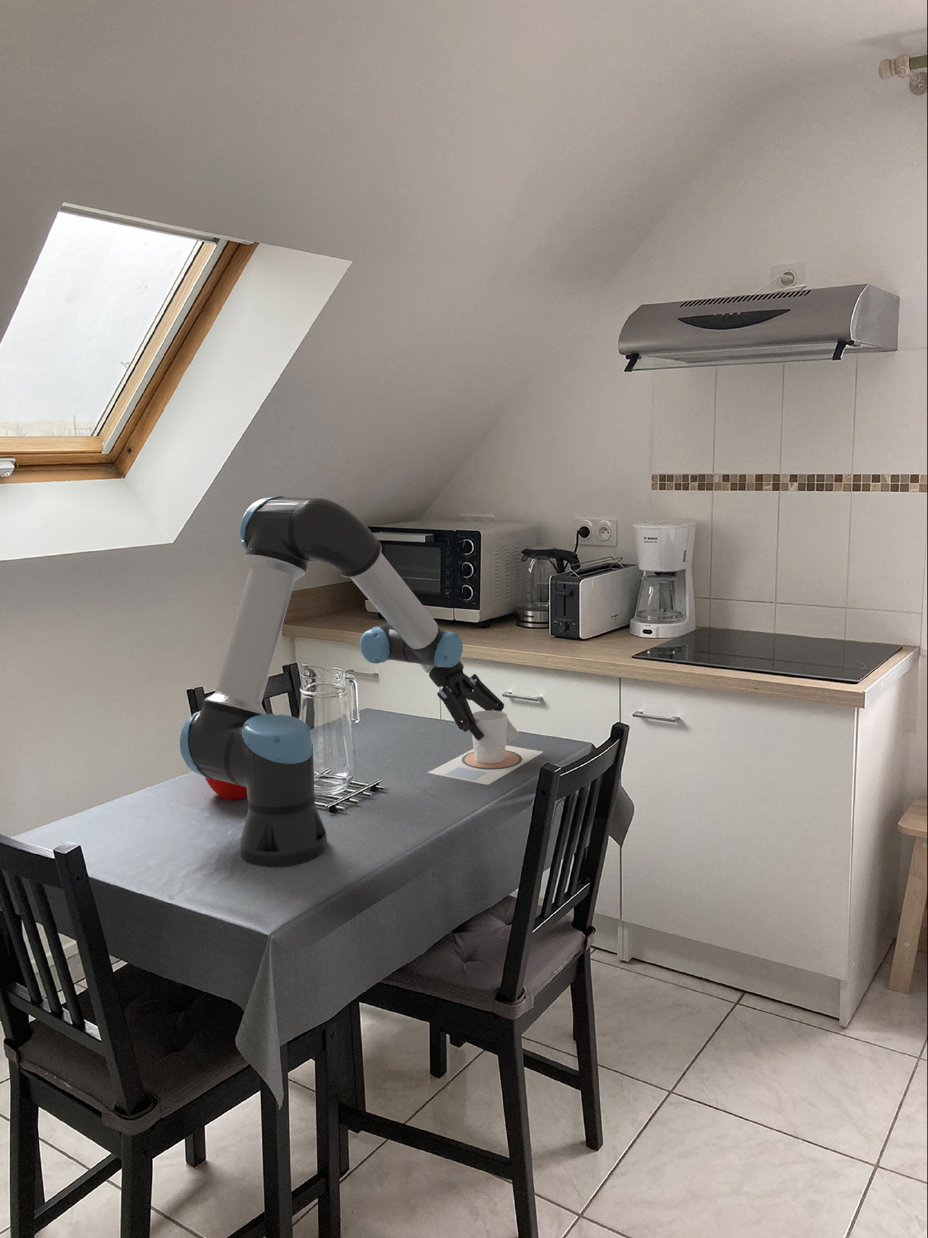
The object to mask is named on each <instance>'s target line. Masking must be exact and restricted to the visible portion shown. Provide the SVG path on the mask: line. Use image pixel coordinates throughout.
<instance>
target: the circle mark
mask: <svg viewBox="0 0 928 1238" xmlns="http://www.w3.org/2000/svg"><path fill="white" fill-rule="evenodd" d="M521 761H522V757H521V756H520V755H519V754H517V753H515V752H511V751H507V750H505V760H504V761H502V762H500V763H494V764H483V763H479V762H477V761H475V758H474V752H471V753H468V754H466V755H465V756H463V758H462V762H463V763H464V764H465V765H467V766H469V767H473V768H478V769H489V770H492V769H504V768H509V767H513V766H515V765H518V764H519V763H520V762H521Z"/></svg>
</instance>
